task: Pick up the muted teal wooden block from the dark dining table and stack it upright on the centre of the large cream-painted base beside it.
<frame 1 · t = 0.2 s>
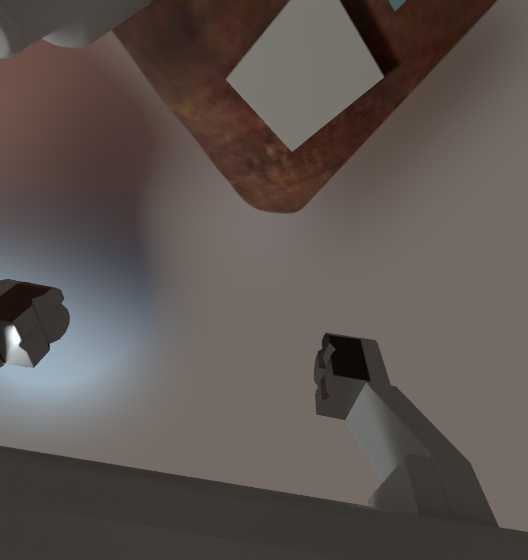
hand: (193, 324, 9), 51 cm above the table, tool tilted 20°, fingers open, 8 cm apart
cream wooden base: (303, 71, 48), on the table
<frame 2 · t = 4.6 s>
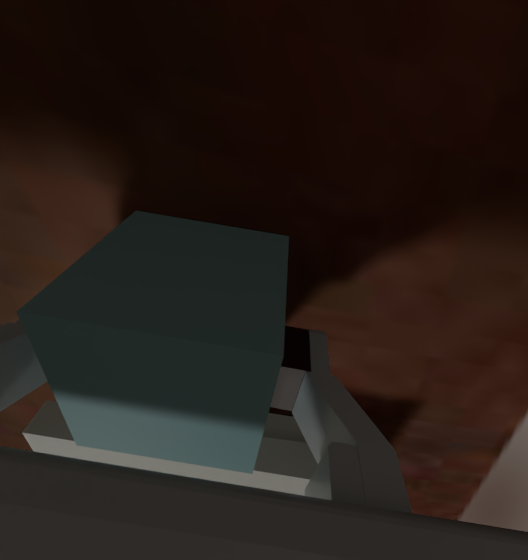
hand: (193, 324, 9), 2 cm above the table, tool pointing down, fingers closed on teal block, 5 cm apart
cream wooden base: (216, 477, 20), on the table
teal block: (209, 285, 11), on the table, touching gripper
when the fingers open (7 cm above the table, at t = 10.8 s): teal block drops 1 cm, resting on cream wooden base.
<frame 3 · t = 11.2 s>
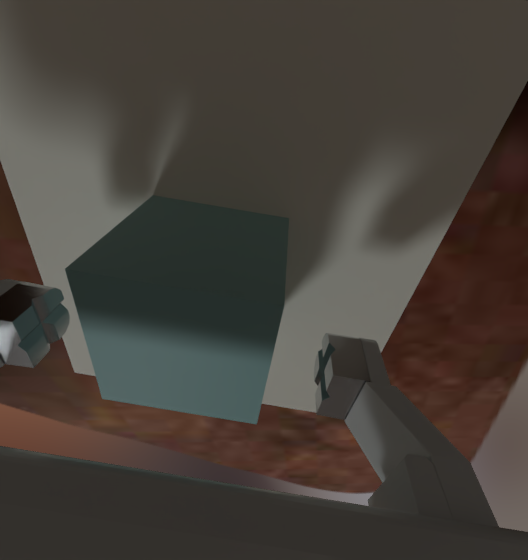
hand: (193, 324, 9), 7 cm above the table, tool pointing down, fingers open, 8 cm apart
cream wooden base: (231, 233, 15), on the table
teal block: (217, 264, 12), point 3 cm above the table, touching cream wooden base
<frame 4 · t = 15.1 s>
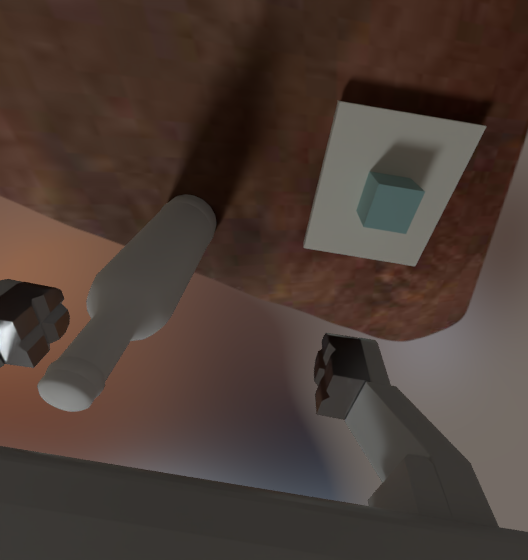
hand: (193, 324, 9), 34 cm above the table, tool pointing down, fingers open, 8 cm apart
cream wooden base: (377, 187, 40), on the table
teal block: (382, 195, 37), point 3 cm above the table, touching cream wooden base
bottle: (191, 219, 45), on the table
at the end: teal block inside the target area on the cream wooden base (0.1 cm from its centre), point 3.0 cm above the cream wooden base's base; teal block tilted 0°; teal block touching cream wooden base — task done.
